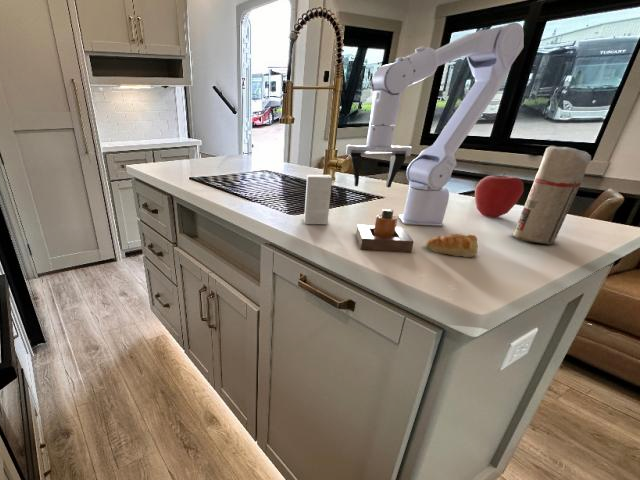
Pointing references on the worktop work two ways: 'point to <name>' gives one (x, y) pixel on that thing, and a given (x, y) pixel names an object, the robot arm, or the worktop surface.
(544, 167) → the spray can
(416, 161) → the robot arm
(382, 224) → the bottle
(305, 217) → the cosmetic box
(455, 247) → the pastry
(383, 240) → the holder
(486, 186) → the apple
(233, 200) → the worktop surface
